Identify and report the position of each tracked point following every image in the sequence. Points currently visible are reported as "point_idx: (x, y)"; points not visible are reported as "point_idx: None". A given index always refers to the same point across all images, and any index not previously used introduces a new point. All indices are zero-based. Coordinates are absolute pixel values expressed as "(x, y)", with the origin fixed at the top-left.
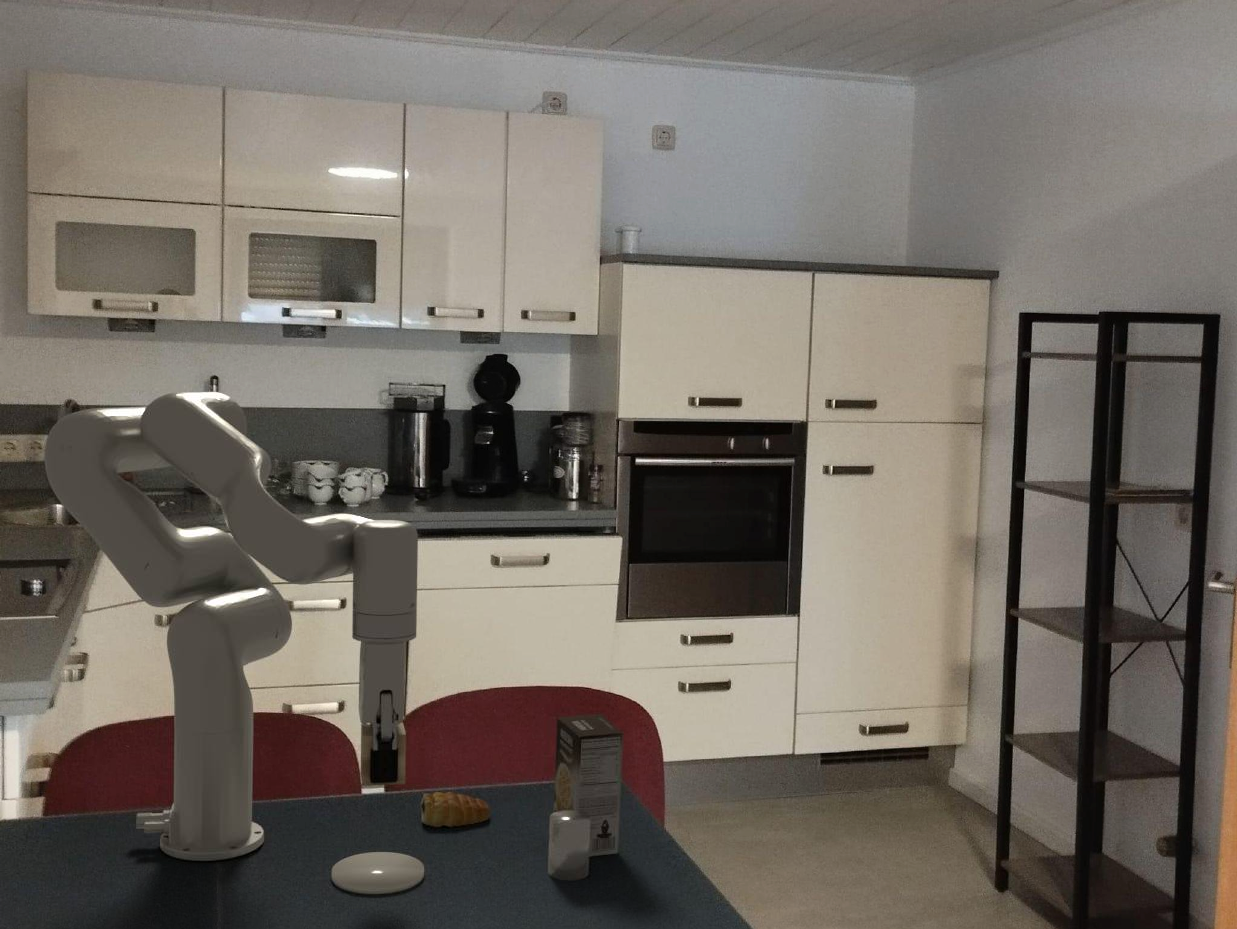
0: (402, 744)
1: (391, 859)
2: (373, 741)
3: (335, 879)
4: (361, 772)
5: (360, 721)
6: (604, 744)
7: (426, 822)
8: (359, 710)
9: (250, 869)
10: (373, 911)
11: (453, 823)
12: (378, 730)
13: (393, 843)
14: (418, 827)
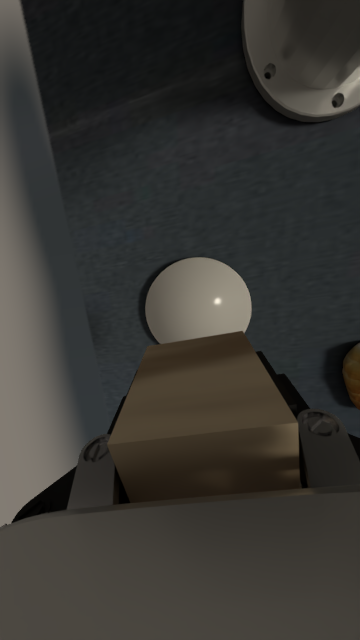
0: None
1: (227, 323)
2: (76, 470)
3: (167, 267)
4: (192, 346)
5: (56, 517)
6: None
7: (352, 348)
8: (173, 558)
9: (214, 132)
10: (105, 317)
11: (344, 376)
12: (195, 485)
13: (297, 315)
14: (349, 337)
